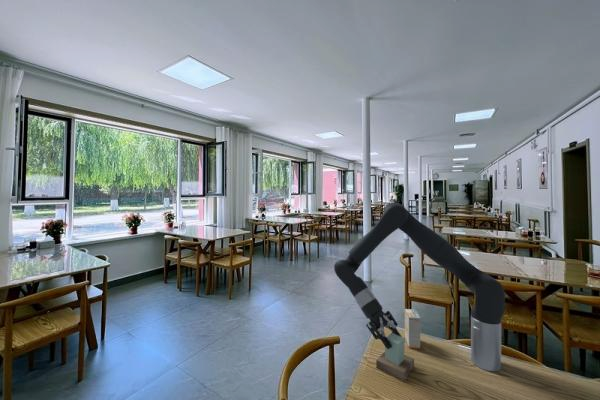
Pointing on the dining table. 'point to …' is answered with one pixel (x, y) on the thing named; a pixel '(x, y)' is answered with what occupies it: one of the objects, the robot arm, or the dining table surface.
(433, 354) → the dining table surface
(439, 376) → the dining table surface
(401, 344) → the sage block
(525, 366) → the dining table surface
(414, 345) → the supplement box
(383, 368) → the walnut plinth
